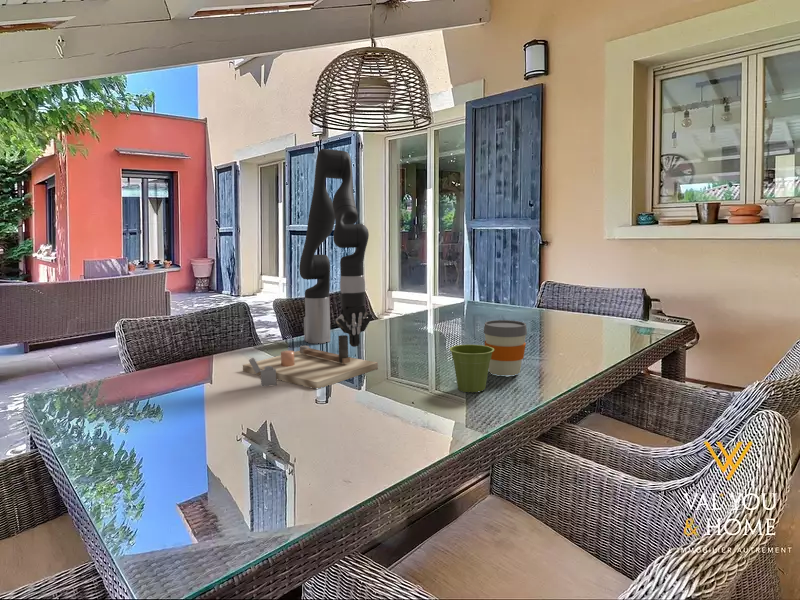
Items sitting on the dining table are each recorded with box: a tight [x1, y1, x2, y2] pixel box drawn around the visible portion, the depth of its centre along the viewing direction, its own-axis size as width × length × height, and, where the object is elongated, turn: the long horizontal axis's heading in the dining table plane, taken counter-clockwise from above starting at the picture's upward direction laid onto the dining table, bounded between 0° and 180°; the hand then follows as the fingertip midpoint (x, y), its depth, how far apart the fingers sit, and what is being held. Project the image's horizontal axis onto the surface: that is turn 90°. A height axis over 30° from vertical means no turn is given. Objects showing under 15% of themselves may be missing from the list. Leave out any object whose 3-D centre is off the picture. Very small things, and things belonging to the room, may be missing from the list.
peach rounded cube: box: [280, 350, 295, 366], centre depth 163 cm, size 4×4×4 cm
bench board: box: [242, 350, 379, 389], centre depth 165 cm, size 32×26×2 cm
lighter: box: [248, 357, 278, 387], centre depth 149 cm, size 7×2×8 cm, turn 106°
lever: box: [299, 334, 351, 363], centre depth 169 cm, size 22×3×8 cm, turn 48°
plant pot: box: [448, 344, 494, 393], centre depth 143 cm, size 12×12×11 cm
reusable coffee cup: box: [483, 319, 528, 375], centre depth 159 cm, size 13×13×15 cm
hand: (354, 346), depth 165 cm, fingers closed
